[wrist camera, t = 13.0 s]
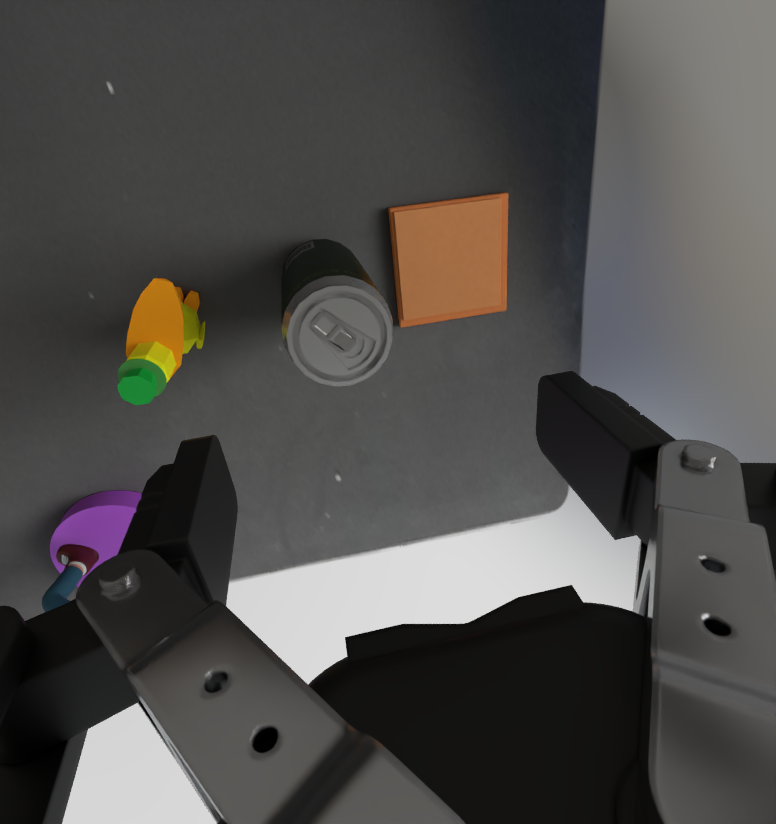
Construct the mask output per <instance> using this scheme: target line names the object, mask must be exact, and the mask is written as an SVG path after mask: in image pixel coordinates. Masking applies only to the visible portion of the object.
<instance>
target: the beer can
mask: <svg viewBox="0 0 776 824" xmlns="http://www.w3.org/2000/svg"><path fill="white" fill-rule="evenodd" d="M282 335H283V343H284V346H285V348H286V350H287V352H288V354H289V356H290V358H291V360H292V361H293V362H294V363H295V365H296V366H297V367H298V368H299V369H300V370H301V371H302V372H303V373H304V374H305V375H306V376H308V377H309V378H311V379H313V380H315V381H317V382H319V383H321V384H326V385H331V386H345V385H353V384H355V383H358V382H360V381H363V380H365V379H367V378H368V377H370V376H371V375H372V374H373V373H375V372H376V371H377V370H378V369H379V368H380V367H381V365H382V364H383V362H384V361H385V360H386V358H387V356H388V353H389V350H390V347H391V344H392V336H393V322H392V316H391V313H390V310H389V308H388V305H387V302H386V301H385V299H384V298H383V297H382V295H381V294H380V292H379V291H378V289H377V288H376V286H375V285H374V283H373V282H372V280H371V279H370V277H369V276H368V274H367V273H366V271H365V270H364V268H363V267H362V266H361V264H360V263H359V261H358V260H357V258H356V257H355V256H354V255H353V253H352V252H351V251H350V250H349V249H348V248H346V247H345V246H343V245H342V244H340V243H338V242H335V241H331V240H328V239H319V240H311V241H309V242H306V243H304V244H301V245H300V246H299V247H298V248H296V249H295V250H294V251H293V252H292V253H291V254H290V256H289V257H288V259H287V261H286V262H285V264H284V268H283V273H282Z"/></svg>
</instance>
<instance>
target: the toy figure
mask: <svg viewBox="0 0 776 824" xmlns="http://www.w3.org/2000/svg"><path fill="white" fill-rule="evenodd" d="M183 301H184V303H183ZM199 304H200V300H199V294H198V292H195V291H190V292H189V293H188V295H187V297H186V298H185V300H184V296H183V293H182V289H181V287H175V286H174V285H173V283H172V282H170V281H169V280H167V279H165V278H154V279H153V280H152V282H151V283H150V284H149V285H148V286H147V288H146V289H145V290H144V291H143V292H142V294H141V295H140V297H139V299H138V301H137V303H136V305H135V307H134V309H133V313H132V317H131V321H130V325H129V330H128V334H127V344H126V356H127V358H128V359H127V360H126V362H124V363H123V364H122V365H121V366H120V368H119V370H118V373H117V379H118V382H119V385H118V386H117V388H118V391H119V393H120V395H121V397H122V399H124V400H126V401H128V402H130V403H132V404H134V405H140V404H147V403H150V401H151V400H152V399H153V397H156V396H158V395H160V394H161V393H162V392H163V391H164V389H165V387H166V384H167V382H168V381H169V379H170V378H171V377H172V376H173V374H174V373H175V372H176V371H177V369H178V368H179V367H180V365H181V362H182V354H185V353H188V352H189V350H190V349H191V348H192V346H193V345H194V343H195V342H196V346H197V348H198V349H201V348H202V346H203V343H204V336H205V321H204V322H203V323H202V325H201V326H200V322H199V319H198V315H197V310H198V308H199Z"/></svg>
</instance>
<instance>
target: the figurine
mask: <svg viewBox="0 0 776 824" xmlns="http://www.w3.org/2000/svg"><path fill="white" fill-rule="evenodd" d="M141 495H142V493H138V492H133V491H122V490H115V491H104V492H100V493H96V494H92V495H90V496H88V497H86V498H83V499H81V500H80V501H78V502H77V503H75V504H74V505H73V506H72V507H71V508H70V509H69V510H68V511H67V512H66V513H65V515H64V517H63V518H62V520H61V522H60V523H59V525H58V527H57V528H56V530H55V532H54V534H53V536H52V538H51V543H50V555H51V558H52V561H53V563H54V566H55V567H56V568H57V570H58V571H59V573H60V576H59V577H58V578H57V579H56V581H55V582H54V583H53V584H52V586H51V587H50V588H49V589H48V590H47V591H46V593H45V594H44V596H43V599H42V606H43V609H44V611H45V612H47V611H50V610H52V609H54V608H57V607H59V606H61V605H64V604H66V603H68V602H70V601H69V600H67V599H66V598H67V597H68V596H69V595H70V593H71V592H72V591H73V590H74V588H75V587H76V586H77V587H79V586H80V584H81V583H82V581H83V580H84V579H85V577H86V576H87V575H88V574H89V573H90V572H91V571H92V570H93V569H95V568H96V567H97V566H98V565H100V564H101V563H103V562H104V561H106V560H108V559H110V558H112V557H114V556H116V555H117V554H118V552H119V549H120V547H121V544H122V542H123V539H124V537H125V535H126V532H127V530H128V527H129V525H130V522H131V520H132V517H133V515H134V513H135V512H136V507H137V505H138V502H139V500H140V499H141Z"/></svg>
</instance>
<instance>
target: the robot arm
mask: <svg viewBox="0 0 776 824" xmlns="http://www.w3.org/2000/svg"><path fill="white" fill-rule="evenodd" d="M536 436H537V441H538V444H539V447H540V449H541V451H542V452H543V454H544V455H545V456H546V457H547V459H548V460H549V461H550V462H551V463H552V465H553V466H554V467H555V468H556V470H557V471H558V472H559V473H560V474H561V476H562V477H563V478H564V479H565V480H566V482H567V483H568V484H569V485H570V486H571V488H572V489H573V490H574V491H575V492H576V493H577V494H578V496H579V497H580V498H581V500H582V501H583V502H584V503H585V504H586V506H587V507H588V508H589V509H590V510H591V512H592V513H593V514H594V515H595V516H596V517H597V519H598V520H599V521H600V522H601V523H602V525H603V526H604V527H605V528H606V530H607V531H608V532H609V533H610V534H611V536H612V537H613V538H614V539H615V540H617V539H621V538H626V537H630V536H634V535H637V536H638V537H639V538H640V539H641V542H640V547H639V552H638V562H637V573H636V583H635V594H634V604H633V612H632V611H629V610H626V609H622V608H619V607H614V606H610V605H604V604H596V603H583V602H582V600H581V599H580V597H579V596H578V594H577V592H576V591H575V589H574V588H573V586H572V585H570V586H566V587H561V588H557V589H553V590H548V591H544V592H539V593H535V594H531V595H526V596H522V597H518V598H516V599H514V600H512V601H510V602H508V603H506V604H504V605H502V606H500V607H499V608H497V609H495V610H493V611H491V612H489V613H487V614H485V615H483V616H481V617H479V618H477V619H475V620H474V621H471V622H469V623H465V624H401V625H397V626H393V627H388V628H384V629H379V630H375V631H371V632H367V633H362V634H358V635H354V636H349V637H345V640H346V648H347V656H348V657H346V658H344V659H342V660H340V661H338V662H337V663H335V664H333V665H332V666H330V667H329V668H328V669H326V670H324V671H323V672H322V673H321V674H320V675H318V676H317V677H316V678H315V679H314V680H312V682H310V684H309V685H307V684H306V683H305V682H304V681H303V680H302V679H301V678H300V677H299V676H298V675H297V674H296V673H295V672H294V671H293V670H292V669H291V668H290V667H289V666H288V665H287V664H286V663H285V662H283V661H282V660H281V659H280V658H279V657H278V656H277V655H276V654H275V653H274V652H273V651H272V650H271V649H270V648H269V647H268V646H267V645H266V644H265V643H263V641H262V640H261V639H259V638H258V637H257V636H256V635H255V634H254V633H253V632H252V631H251V630H250V629H249V628H248V627H247V626H246V625H245V624H244V623H243V622H242V621H241V620H240V619H238V617H237V616H235V615H234V614H233V613H232V612H231V611H230V610H229V609H228V608H227V607H226V600H227V592H228V584H229V576H230V568H231V560H232V552H233V544H234V537H235V529H236V521H237V512H238V507H237V497H236V492H235V488H234V485H233V482H232V479H231V475H230V472H229V469H228V466H227V463H226V460H225V457H224V454H223V451H222V448H221V445H220V442H219V440H218V438H217V436H215V435H211V436H206V437H200V438H195V439H189V440H184V441H182V442H181V444H180V447H179V449H178V452H177V455H176V458H175V461H174V464H168V465H163V466H161V467H160V468H159V469H158V470H157V471H156V472H155V473H154V474H153V475H152V476H151V477H150V478H149V480H148V481H147V483H146V485H145V488H144V490H143V492H142V495H141V499H140V500H139V502H138V505H137V507H136V512H135V513H134V515H133V517H132V520H131V522H130V525H129V527H128V530H127V532H126V535H125V537H124V539H123V542H122V544H121V547H120V549H119V552H118V554H117V555H116V556H114V557H112V558H110V559H108V560H106V561H104V562H103V563H101V564H100V565H98V566H97V567H96V568H95V569H93V570H92V571H91V572H90V573H89V574H88V575H87V576H86V577H85V579H84V580H83V581H82V583H81V584H80V586H79V588H78V590H77V593H76V599H74V600H72V601H70V602H68V603H66V604H64V605H61V606H59V607H57V608H54V609H52V610H50V611H47V612H45V613H43V614H40V615H38V616H36V617H34V618H31V619H29V620H27V621H24V619H23V618H22V617H21V615H20V614H19V612H18V611H17V610H16V609H14V608H12V607H9V606H0V824H62V821H63V817H64V813H65V810H66V806H67V803H68V799H69V796H70V792H71V788H72V785H73V781H74V778H75V774H76V770H77V767H78V763H79V759H80V756H81V751H82V748H83V745H84V741H85V738H86V734H87V730H88V728H91V727H92V726H94V725H96V724H98V723H100V722H102V721H104V720H106V719H107V718H109V717H111V716H113V715H115V714H117V713H119V712H121V711H122V710H124V709H126V708H128V707H130V706H132V705H134V704H136V703H138V704H139V706H140V707H141V709H142V710H143V712H144V713H145V715H146V716H147V718H148V719H149V721H150V722H151V724H152V725H153V727H154V728H155V730H156V731H157V733H158V734H159V736H160V737H161V739H162V740H163V742H164V743H165V745H166V746H167V748H168V749H169V751H170V752H171V754H172V755H173V757H174V758H175V760H176V761H177V763H178V764H179V766H180V767H181V769H182V770H183V772H184V773H185V775H186V777H187V778H188V780H189V781H190V783H191V784H192V786H193V787H194V789H195V791H196V792H197V794H198V795H199V797H200V798H201V800H202V801H203V803H204V805H205V806H206V808H207V809H208V811H209V812H210V814H211V815H212V817H213V818H214V820H215V821H216V823H217V824H776V463H740V462H739V461H738V459H737V458H736V457H735V456H734V455H733V454H731V453H730V452H729V451H727V450H725V449H724V448H721V447H719V446H716V445H714V444H711V443H707V442H703V441H696V440H675V439H674V438H673V437H672V436H670V435H669V434H668V433H666V432H665V431H664V430H662V429H661V428H660V427H658V426H657V425H656V424H654V423H653V422H652V421H650V420H649V419H648V418H647V417H645V416H644V415H640V412H639V411H637V410H636V409H634V408H633V407H632V406H629V404H628V403H627V402H625V401H624V400H623V399H621V398H620V397H619V396H618V395H616V394H615V393H612V392H610V391H607V390H604V389H602V388H599V387H597V386H591V385H590V384H589V383H587V382H586V381H585V380H584V379H582V378H581V377H580V376H579V375H577V374H576V373H575V372H573V371H568V372H563V373H557V374H552V375H546V376H542V377H541V378H540V380H539V384H538V399H537V419H536Z"/></svg>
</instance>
